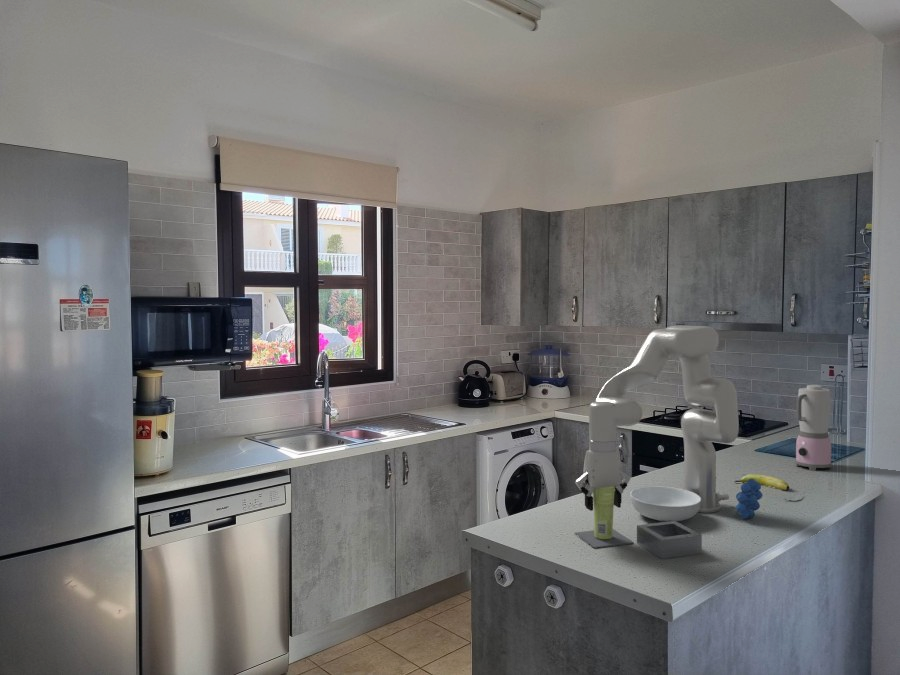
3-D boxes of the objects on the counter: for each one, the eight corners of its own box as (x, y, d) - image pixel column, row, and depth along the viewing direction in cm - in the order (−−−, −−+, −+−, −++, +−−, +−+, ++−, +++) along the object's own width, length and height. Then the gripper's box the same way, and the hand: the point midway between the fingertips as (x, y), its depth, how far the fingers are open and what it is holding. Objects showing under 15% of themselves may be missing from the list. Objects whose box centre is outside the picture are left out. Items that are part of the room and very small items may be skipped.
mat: (611, 529, 198) (611, 528, 198) (633, 543, 186) (633, 542, 186) (574, 534, 194) (574, 532, 194) (594, 548, 183) (594, 547, 183)
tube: (601, 532, 194) (601, 465, 193) (617, 536, 191) (616, 468, 190) (590, 537, 190) (590, 469, 189) (606, 541, 187) (606, 471, 186)
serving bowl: (654, 532, 195) (654, 508, 195) (617, 510, 215) (617, 489, 215) (716, 524, 201) (716, 501, 200) (674, 504, 221) (674, 483, 220)
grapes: (746, 510, 213) (746, 473, 212) (767, 516, 207) (767, 477, 206) (725, 518, 206) (725, 479, 205) (745, 524, 200) (746, 484, 200)
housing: (674, 538, 190) (674, 520, 189) (701, 553, 178) (701, 535, 178) (636, 543, 186) (636, 525, 186) (661, 559, 175) (661, 540, 174)
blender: (810, 461, 273) (811, 383, 271) (838, 468, 262) (839, 386, 260) (782, 466, 266) (783, 385, 264) (810, 473, 255) (811, 389, 253)
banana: (830, 490, 236) (830, 479, 235) (796, 506, 218) (796, 494, 218) (733, 471, 262) (734, 461, 262) (696, 484, 245) (696, 474, 245)
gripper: (623, 441, 195) (624, 501, 196) (568, 445, 190) (569, 507, 191) (637, 446, 187) (637, 508, 188) (580, 451, 183) (581, 515, 184)
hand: (603, 507), depth 190 cm, fingers open, 8 cm apart
